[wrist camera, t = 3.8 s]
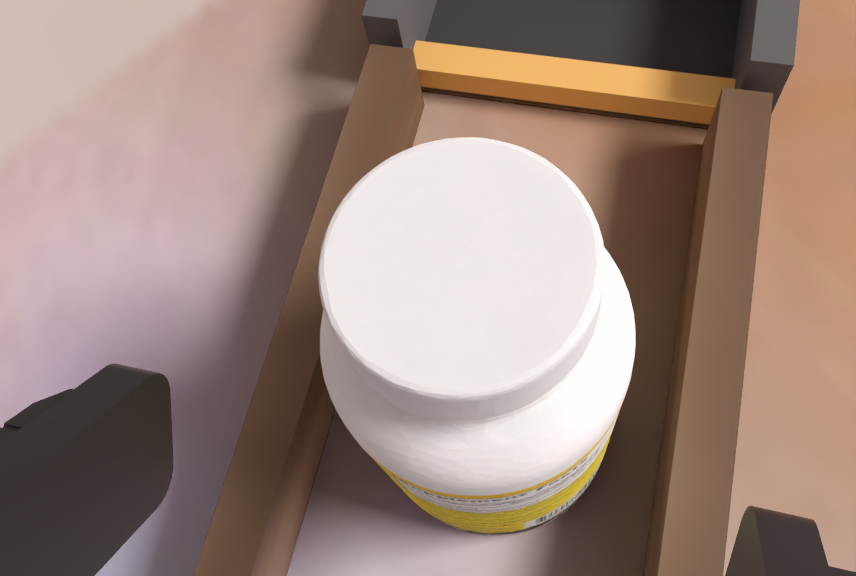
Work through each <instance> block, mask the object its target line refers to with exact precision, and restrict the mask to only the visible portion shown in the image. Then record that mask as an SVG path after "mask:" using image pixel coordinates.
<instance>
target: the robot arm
mask: <svg viewBox="0 0 856 576" xmlns="http://www.w3.org/2000/svg"><path fill="white" fill-rule="evenodd" d="M172 473H173V445H172V422H171V399H170V386H169V382H168V380H167V378H166V377H165V376H164V375H163V374H160V373H155V372H151V371H146V370H142V369H137V368H133V367H128V366H124V365H119V364H110V365H108V366H106V367H105V368H103V369H102V370H100V371H99V372H98V373H96V374H95V375H93V376H92V377H91V378H89V379H88V380H86V381H85V382H84V383H82V384H81V385H80V386H78V387H77V388H75V389H74V390H73V389H69V390H66V391H64V392H61V393H59V394H56V395H53V396H51V397H48V398H46V399H43V400H40V401H38V402H35V403H33V404H31V405H30V406H29V407H27V408H26V409H24V410H23V411H21V412H20V413H18V414H17V415H16V416H14V417H13V418H11V419H10V420H8V421H7V422H6V423H4V427H3V428H0V576H95V574H96V573H97V572H98V571H99V570H100V569H101V568H102V567H103V566H104V565H105V564H106V563H107V562H108V560H109V559H110V558H111V557H112V556H113V555H114V554H115V553H116V552H117V551H118V550H119V549H120V548H121V546H122V545H123V544H124V543H125V542H126V541H127V540H128V539H129V538H130V537H131V536H132V535H133V534H134V532H135V531H136V530H137V529H138V528H139V527H140V526H141V525H142V524H143V523H144V522H145V521H146V519H147V518H148V517H149V516H150V515H151V514H152V513H153V512H154V511H155V510H156V509H157V507H158V506H159V505H160V503H161V502H162V500H163V499H164V497H165V495H166V493H167V490H168V488H169V485H170V482H171V478H172ZM725 576H856V572H852V571H847V570H843V569H839V568H834V567H830V566H828V563H827V559H826V556H825V552H824V549H823V545H822V542H821V538H820V535H819V531H818V528H817V525H816V523H815V521H814V520H812V519H808V518H803V517H799V516H794V515H790V514H785V513H781V512H776V511H772V510H767V509H763V508H758V507H754V506H749V507H748V508H747V509H746V511H745V513H744V515H743V517H742V521H741V524H740V527H739V531H738V534H737V537H736V541H735V544H734V548H733V551H732V555H731V558H730V561H729V565H728V568H727V572H726V575H725Z"/></svg>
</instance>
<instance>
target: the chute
mask: <svg viewBox="0 0 856 576" xmlns="http://www.w3.org/2000/svg"><path fill="white" fill-rule="evenodd" d="M772 100H773V93H767V92H759V91H750V90H742V89H734V88H726V87H722V90H721V93H720V96H719V99H718V102H717V104H716V107H715V110H714V113H713V116H712V119H711V122H710V125H709V127H708V130H707V133H706V136H705V139H704V142H703V147H702V154H701V161H700V168H699V176H698V183H697V190H696V197H695V204H694V211H693V219H692V226H691V233H690V240H689V247H688V255H687V262H686V269H685V276H684V283H683V291H682V298H681V305H680V312H679V319H678V326H677V334H676V341H675V348H674V355H673V362H672V370H671V377H670V384H669V391H668V398H667V406H666V413H665V420H664V427H663V434H662V441H661V449H660V456H659V463H658V470H657V477H656V485H655V492H654V499H653V506H652V513H651V521H650V528H649V535H648V542H647V549H646V556H645V564H644V571H643V576H723V569H724V559H725V550H726V540H727V531H728V521H729V512H730V502H731V492H732V483H733V473H734V464H735V454H736V445H737V435H738V425H739V416H740V406H741V397H742V387H743V378H744V368H745V359H746V349H747V339H748V330H749V320H750V311H751V301H752V292H753V282H754V272H755V263H756V253H757V244H758V234H759V225H760V215H761V205H762V196H763V186H764V177H765V167H766V158H767V148H768V138H769V129H770V119H771V110H772ZM423 108H424V101H423V96H422V91H421V86H420V81H419V76H418V71H417V66H416V61H415V56H414V51H413V49H408V48H400V47H392V46H384V45H376V44H370V47H369V50H368V53H367V56H366V59H365V62H364V65H363V68H362V71H361V74H360V77H359V80H358V83H357V86H356V89H355V92H354V95H353V98H352V101H351V104H350V107H349V110H348V113H347V116H346V119H345V122H344V125H343V128H342V131H341V134H340V137H339V140H338V143H337V146H336V149H335V152H334V155H333V158H332V161H331V164H330V167H329V170H328V173H327V176H326V179H325V182H324V185H323V188H322V191H321V194H320V197H319V200H318V203H317V206H316V209H315V212H314V215H313V218H312V221H311V224H310V227H309V230H308V233H307V236H306V239H305V242H304V245H303V248H302V251H301V254H300V257H299V260H298V263H297V266H296V269H295V272H294V275H293V278H292V281H291V284H290V287H289V290H288V293H287V296H286V299H285V302H284V305H283V308H282V311H281V314H280V317H279V320H278V323H277V326H276V329H275V332H274V335H273V338H272V341H271V344H270V347H269V350H268V353H267V356H266V359H265V362H264V365H263V368H262V371H261V374H260V377H259V380H258V383H257V386H256V389H255V392H254V395H253V398H252V401H251V404H250V407H249V410H248V413H247V416H246V419H245V422H244V425H243V428H242V431H241V434H240V437H239V440H238V443H237V446H236V449H235V452H234V455H233V458H232V461H231V464H230V467H229V470H228V473H227V476H226V479H225V482H224V485H223V488H222V491H221V494H220V497H219V500H218V503H217V506H216V509H215V512H214V515H213V518H212V521H211V524H210V527H209V530H208V533H207V536H206V539H205V542H204V545H203V548H202V551H201V554H200V557H199V560H198V563H197V566H196V568H195V571H194V574H193V576H286V575H287V571H288V568H289V564H290V561H291V558H292V554H293V551H294V547H295V544H296V540H297V537H298V534H299V530H300V527H301V523H302V520H303V517H304V513H305V510H306V506H307V503H308V500H309V496H310V493H311V489H312V486H313V483H314V479H315V476H316V472H317V469H318V466H319V462H320V459H321V455H322V452H323V448H324V445H325V442H326V438H327V435H328V431H329V428H330V425H331V421H332V418H333V414H334V411H335V407H334V404H333V402H332V400H331V398H330V395H329V393H328V390H327V387H326V384H325V381H324V376H323V371H322V366H321V358H320V328H321V321H322V314H323V306H322V302H321V297H320V293H319V281H318V269H319V259H320V253H321V247H322V243H323V240H324V236H325V233H326V230H327V228H328V226H329V223H330V221H331V219H332V217H333V215H334V213H335V211H336V209H337V208H338V206H339V205H340V203H341V202H342V200H343V199H344V197H345V196H346V195H347V194H348V192H349V191H350V190H351V189H352V188H353V186H354V185H355V184H356V183H357V182H358V181H359V180H360V179H362V178H363V177H364V176H365V175H366V174H367V173H369V172H370V171H371V170H372V169H373V168H375V167H376V166H378V165H379V164H381V163H382V162H383V161H385V160H386V159H388V158H390V157H392V156H394V155H396V154H398V153H400V152H402V151H404V150H407V149H409V148H412V145H413V142H414V138H415V135H416V132H417V128H418V125H419V121H420V118H421V115H422V111H423Z"/></svg>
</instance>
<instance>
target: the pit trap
mask: <svg viewBox="0 0 856 576" xmlns="http://www.w3.org/2000/svg"><path fill="white" fill-rule="evenodd" d="M799 4H800V0H367V1H366V4H365V7H364V10H363V13H362V19H363V23H364V26H365V30H366V34H367V37H368V41H369V45H370V44H376V45H384V46H392V47H400V48H408V49H413V51H414V56H415V61H416V66H417V71H418V76H419V81H420V86H421V91H429V92H436V93H444V94H451V95H459V96H466V97H474V98H482V99H489V100H497V101H504V102H512V103H519V104H527V105H534V106H542V107H549V108H557V109H564V110H572V111H579V112H587V113H594V114H602V115H609V116H617V117H624V118H632V119H639V120H647V121H654V122H662V123H669V124H677V125H684V126H692V127H699V128H707V129H708V127H709V125H710V122H711V119H712V116H713V113H714V110H715V107H716V104H717V102H718V99H719V96H720V93H721V90H722V87H726V88H734V89H742V90H750V91H759V92H767V93H773V100H772V110H771V114H772V111H773V109H774V107H775V105H776V103H777V101H778V98H779V96H780V94H781V92H782V90H783V87H784V85H785V83H786V81H787V79H788V77H789V74H790V72H791V70H792V68H793V66H794V57H795V46H796V36H797V25H798V15H799Z"/></svg>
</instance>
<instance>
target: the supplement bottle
mask: <svg viewBox="0 0 856 576" xmlns="http://www.w3.org/2000/svg"><path fill="white" fill-rule="evenodd" d="M318 281H319V293H320V297H321V302H322V306H323V314H322V321H321V328H320V358H321V366H322V371H323V376H324V381H325V384H326V387H327V390H328V393H329V395H330V398H331V400H332V402H333V404H334V407H335V409H336V411H337V412H338V414H339V416H340V418H341V419H342V421H343V423H344V425H345V426H346V427H347V429H348V430H349V431H350V433H351V434H352V436H353V437H354V438H355V440H356V441H357V442H358V443H359V445H360V446H361V447H362V448H363V450H364V451H365V452H366V453H367V454H368V455H369V456H370V457H371V458H372V459H373V460H374V461H375V462H376V463H377V464H378V465H379V466H380V467H381V468H382V469H383V470H384V471H385V472H386V473H387V474H388V475H389V476H390V478H391V479H392V480H393V481H394V482H395V483H396V484H397V485H398V486H399V487H400V488H401V489H402V490H403V491H404V492H405V493H406V495H407V496H408V497H409V498H410V499H411V500H413V501H414V502H415V503H416V504H417V505H418V506H419V507H420V508H422V509H423V510H424V511H425V512H427V513H428V514H429V515H431V516H432V517H434V518H436V519H437V520H439V521H441V522H443V523H444V524H447V525H449V526H451V527H454V528H456V529H459V530H462V531H466V532H469V533H474V534H479V535H489V536H498V535H513V534H518V533H523V532H527V531H530V530H533V529H536V528H538V527H541V526H543V525H545V524H547V523H549V522H551V521H553V520H554V519H556V518H557V517H559V516H560V515H562V514H563V513H564V512H566V511H567V510H568V509H569V508H570V507H572V506H573V505H574V504H575V503H576V501H577V500H578V499H579V498H580V497H581V496H582V495H583V493H584V492H585V491H586V489H587V488H588V487H589V485H590V484H591V482H592V480H593V479H594V477H595V475H596V473H597V471H598V470H599V467H600V464H601V462H602V459H603V457H604V454H605V451H606V448H607V445H608V443H609V440H610V436H611V434H612V431H613V428H614V426H615V422H616V419H617V416H618V414H619V411H620V408H621V406H622V403H623V401H624V398H625V395H626V392H627V389H628V386H629V383H630V380H631V374H632V368H633V363H634V358H635V345H636V334H635V320H634V312H633V308H632V303H631V299H630V295H629V292H628V289H627V287H626V284H625V282H624V279H623V277H622V275H621V273H620V270H619V269H618V267H617V265H616V264H615V262H614V260H613V259H612V257H611V255H610V254H609V253H608V251H607V250H606V249H605V247H604V244H603V239H602V235H601V232H600V228H599V225H598V223H597V220H596V218H595V216H594V214H593V211H592V209H591V207H590V206H589V204H588V202H587V201H586V199H585V197H584V196H583V194H582V193H581V192H580V190H579V189H578V188H577V187H576V185H575V184H574V183H573V182H572V181H571V180H570V179H569V178H568V177H567V176H566V175H565V174H564V173H563V172H562V171H560V170H559V169H558V168H557V167H555V166H554V165H553V164H551V163H550V162H549V161H547V160H546V159H545V158H543V157H541V156H539V155H537V154H535V153H533V152H531V151H529V150H527V149H525V148H522V147H519V146H516V145H513V144H509V143H506V142H502V141H497V140H492V139H486V138H479V137H467V138H462V137H459V138H447V139H441V140H436V141H431V142H427V143H423V144H420V145H417V146H414V147H412V148H409V149H407V150H404V151H402V152H400V153H398V154H396V155H394V156H392V157H390V158H388V159H386V160H385V161H383V162H382V163H381V164H379V165H378V166H376V167H375V168H373V169H372V170H371V171H370V172H369V173H367V174H366V175H365V176H364V177H363V178H362V179H360V180H359V181H358V182H357V183H356V184H355V185H354V186H353V188H352V189H351V190H350V191H349V192H348V194H347V195H346V196H345V197H344V199H343V200H342V202H341V203H340V205H339V206H338V208H337V209H336V211H335V213H334V215H333V217H332V219H331V221H330V223H329V226H328V228H327V230H326V233H325V236H324V240H323V243H322V247H321V253H320V259H319V269H318Z"/></svg>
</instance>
